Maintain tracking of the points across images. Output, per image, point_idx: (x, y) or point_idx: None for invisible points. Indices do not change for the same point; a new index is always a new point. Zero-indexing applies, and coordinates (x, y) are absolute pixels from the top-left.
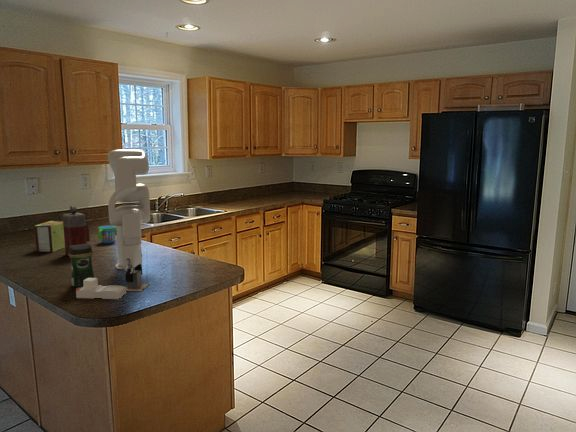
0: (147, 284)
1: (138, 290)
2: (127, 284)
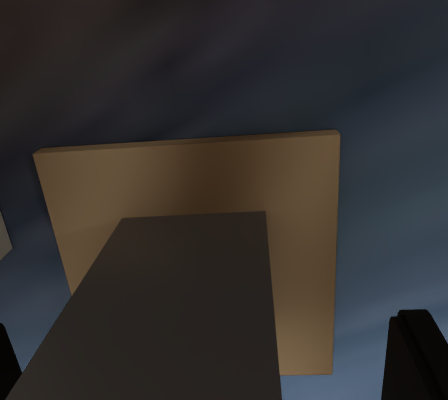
0: (321, 368)
1: None
2: (102, 249)
